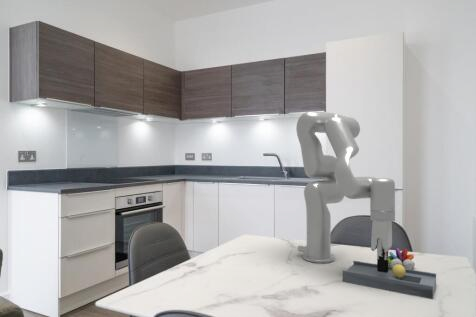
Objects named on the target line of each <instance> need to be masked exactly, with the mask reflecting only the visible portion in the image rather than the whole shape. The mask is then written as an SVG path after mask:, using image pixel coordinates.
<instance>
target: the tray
mask: <svg viewBox="0 0 476 317" xmlns="http://www.w3.org/2000/svg"><path fill="white" fill-rule="evenodd" d="M405 271H406V272H405V275H404V276H403V277H396V276H395V275H394V274H393V273H392V267H391V265H389V271H388V272H387V273H384V272H378V271H377V263H371V262H363V261H358V260H353V264H352V265H350V266H349V267H348V268H347V269H346V270H342V283H349V284H354V285H359V286H363V287H370V288H375V289H381V290H384V291H385V290H386V291H389V292H395V293H401V294H406V295H411V296H417V297H422V298H425V299H432V300H433V298H434V295H435V291H436V286H437V273H435V272H434V273H433V272H428V271H422V270H417V269H415V270H414V269H412V270H410V269H405Z"/></svg>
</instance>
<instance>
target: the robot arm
mask: <svg viewBox="0 0 476 317" xmlns="http://www.w3.org/2000/svg"><path fill="white" fill-rule="evenodd" d="M295 128H296V129H295V130H296V136H297V139H298V143H299V145H300V149H301V150H300V152H301V157H302V163H303V164H302V165H303V169H304V173H305V175H306V176H307V177H308V178H311V179H324V180H314V181H311V182H308V183H307V184H306V185H305V187H304V189H303V196H304V202H305V208H306V245H304V246H303V245H298V246H297V251H298V252H303V254H302V259H303V260H304V261H307V262H311V263H318V264H328V263H331V262H334V261H335V258H336V257H335V255H334V254H332V253H331V252H332V250H331V245H332V244H331V240H332V238H331V236H332V235H331V234H332V233H331V228H332V226H331V218H332V217H331V212H330V209H329V208H328V205H330V204H338V203H341V202H342V201H343V200H344V198H347V199H349V200H359V199H361V200H362V199H369V200H370V205H369V208H370V213H369V214H370V220H371V221H372V224H371V239H370V241H371V242H370V250H371V251H372V252H374V251H376V256H377V258H376V261H377V262H376V264H377V271H378V272H384V273H387V272H388V271H389V266H390V264H389V260H388V256H389V252H390V251H389V250H391V248H392V246H393V223H392V222H395V221H396V184H395V181H394V179H392V178H389V177H388V178H385V177H382V178H381V177H380V178H379V177H373V176H354V174H353V172H352V169H351V167H350V160H351V159H353V158H354V157H355V156H356V155H357V154H358V153H359V151H360V148H359V145H358V143H357V142H356V140H355V139H356V138H358V136H359V134H360V132H361V126H360V123H359V122H358V121H357V119H356V118H354V117H351V116H346V115H343V114H338V113H333V112H332V113H331V112H324V111H323V112H322V111H307V112H303V113H302V114H301V115H300V116H299V117H298V119H297V122H296V127H295ZM316 133H319V134H321V133H322V134H325V135H326V137H327V138H328V141H329V144H330V145H331V147H332V150H333V152H334V154H335V156H336V157H335V156H333V155H327V154H324V152H323V146H322V142H321V141H320V139H319V137H318V136H317V135H316ZM327 204H328V205H327Z"/></svg>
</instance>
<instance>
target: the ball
mask: <svg viewBox="0 0 476 317" xmlns="http://www.w3.org/2000/svg"><path fill="white" fill-rule="evenodd" d="M405 272H406V271H405V268H404V267H403V266H402V265H399V264H396V265H394V266H393V267H392V273H393V274H394V275H395V276H396V277H403V276H404V275H405Z"/></svg>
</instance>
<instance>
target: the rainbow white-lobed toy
mask: <svg viewBox="0 0 476 317" xmlns="http://www.w3.org/2000/svg"><path fill="white" fill-rule="evenodd" d="M408 251H409V250H408V249H407V248H404V249H403V250H402V251H401V249H400V248H398V247H396V248H395V254H394V253H393V252H392V251H388V260H389V266H391V267H393V266H394V265H396V264H399V265H402V266H403V267H404V268H405V269H410V270H414V268H415V262H414V261H413V260H414V257H415V256H414V254H412V253H411V254H408Z"/></svg>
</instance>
